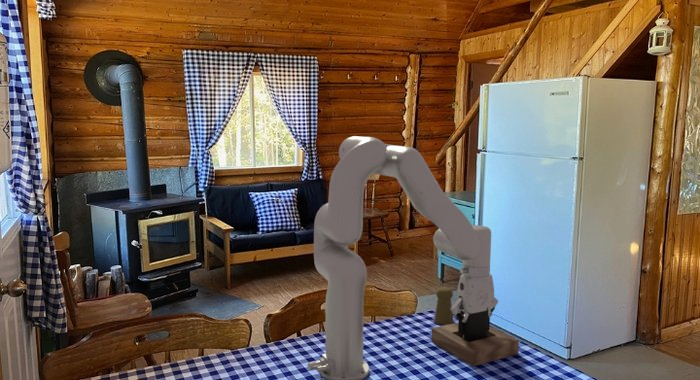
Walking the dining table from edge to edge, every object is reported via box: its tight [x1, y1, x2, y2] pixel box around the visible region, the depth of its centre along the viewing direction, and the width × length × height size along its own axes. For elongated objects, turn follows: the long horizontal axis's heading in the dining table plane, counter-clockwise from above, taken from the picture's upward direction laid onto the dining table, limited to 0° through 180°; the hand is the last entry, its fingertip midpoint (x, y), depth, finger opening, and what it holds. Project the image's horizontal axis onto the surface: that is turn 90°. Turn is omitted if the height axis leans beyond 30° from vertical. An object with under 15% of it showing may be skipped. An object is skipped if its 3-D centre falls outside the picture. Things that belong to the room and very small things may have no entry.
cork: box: [433, 286, 454, 326], centre depth 171 cm, size 6×6×11 cm
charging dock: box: [431, 322, 520, 367], centre depth 152 cm, size 16×18×4 cm
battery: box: [462, 307, 488, 342], centre depth 151 cm, size 7×4×11 cm, turn 94°
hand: (473, 331), depth 151 cm, fingers closed on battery, 7 cm apart
